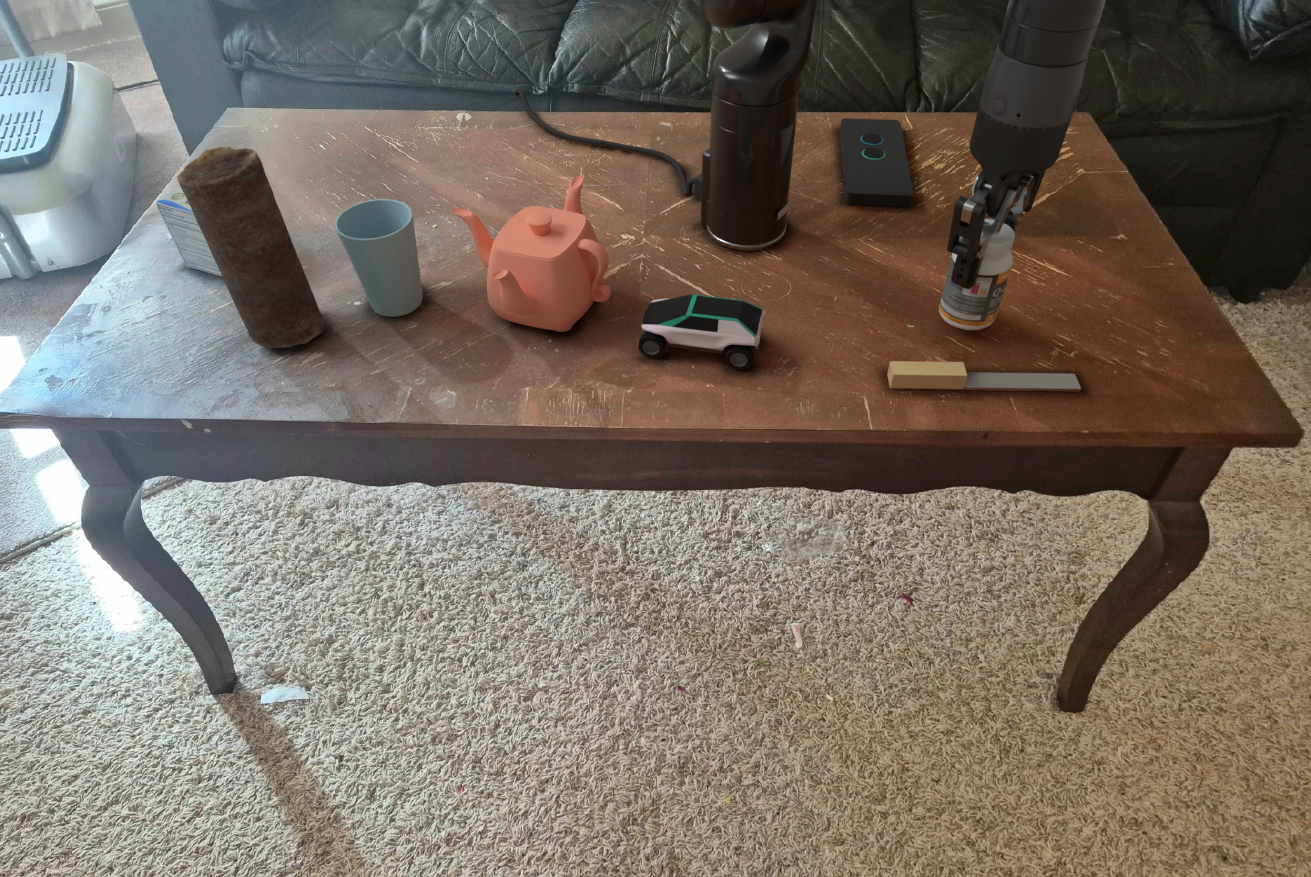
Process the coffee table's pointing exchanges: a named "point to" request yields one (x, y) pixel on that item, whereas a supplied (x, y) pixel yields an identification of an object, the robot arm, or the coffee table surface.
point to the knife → (973, 378)
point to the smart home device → (874, 163)
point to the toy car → (703, 327)
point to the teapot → (542, 264)
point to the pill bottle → (980, 286)
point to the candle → (251, 246)
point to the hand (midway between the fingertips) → (978, 269)
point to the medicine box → (186, 232)
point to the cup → (383, 254)
